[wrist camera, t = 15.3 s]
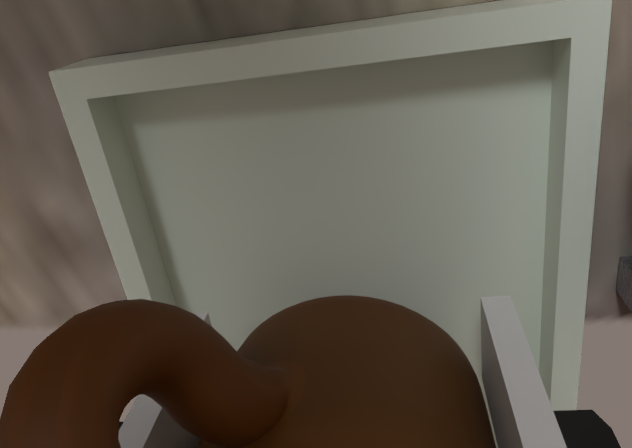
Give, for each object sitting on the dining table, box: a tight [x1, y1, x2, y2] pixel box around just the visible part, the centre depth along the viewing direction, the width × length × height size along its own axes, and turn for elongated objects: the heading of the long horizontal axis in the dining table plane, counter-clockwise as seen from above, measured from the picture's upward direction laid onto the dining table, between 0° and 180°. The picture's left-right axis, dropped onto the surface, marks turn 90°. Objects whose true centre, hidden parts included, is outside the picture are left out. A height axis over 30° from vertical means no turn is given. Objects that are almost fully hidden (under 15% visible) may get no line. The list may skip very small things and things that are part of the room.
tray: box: [48, 0, 612, 448], centre depth 17 cm, size 14×17×2 cm
